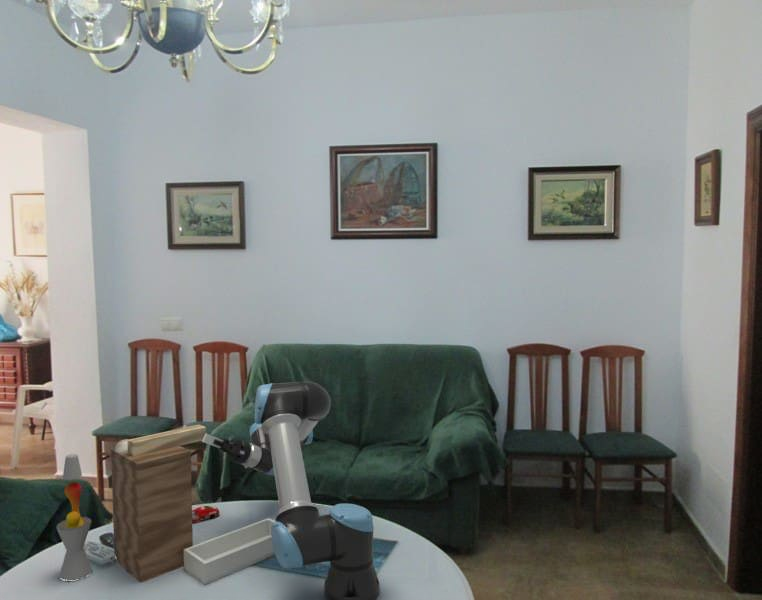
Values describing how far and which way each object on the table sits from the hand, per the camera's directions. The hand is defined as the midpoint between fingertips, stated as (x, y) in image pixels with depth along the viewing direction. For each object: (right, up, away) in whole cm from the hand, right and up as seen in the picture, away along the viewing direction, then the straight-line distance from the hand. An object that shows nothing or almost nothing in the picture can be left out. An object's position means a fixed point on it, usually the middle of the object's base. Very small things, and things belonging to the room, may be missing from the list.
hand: (193, 433), depth 190 cm
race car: (-4, -35, +22) cm, 42 cm away
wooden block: (-9, -37, -8) cm, 39 cm away
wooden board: (-6, -3, -6) cm, 9 cm away
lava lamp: (-29, -38, -15) cm, 50 cm away
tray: (+16, -37, -6) cm, 40 cm away
